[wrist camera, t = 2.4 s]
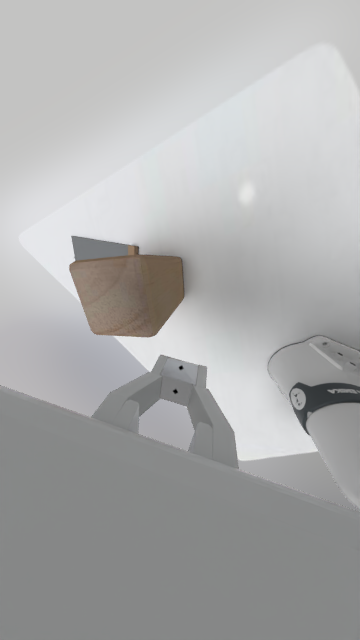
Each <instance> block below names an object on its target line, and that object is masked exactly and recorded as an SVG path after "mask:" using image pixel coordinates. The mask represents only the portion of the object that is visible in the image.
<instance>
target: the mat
mask: <svg viewBox="0 0 360 640" xmlns="http://www.w3.org/2000/svg"><path fill="white" fill-rule="evenodd" d="M72 242H73V248H74V254H75V260H86V259H96V258H106V257H116V256H126V255H136V254H138V247H137V246H131V245H125V244H118V243H112V242H106V241H100V240H94V239H87V238H81V237H75V236H72Z"/></svg>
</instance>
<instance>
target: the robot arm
mask: <svg viewBox="0 0 360 640" xmlns="http://www.w3.org/2000/svg"><path fill="white" fill-rule="evenodd" d="M323 343H324V344H323ZM268 372H269V374H270V376H271V378H272V379H273V380H274V381H275V382H276V383H277V385H278V388H279V390H280V391H281V393H282V394H284V395H285V396H286V398H287V399H288V401H289V402H290V404H291V405H292V407H293V409H294V412H295V414H296V416H297V418H298V419H299V422H300V424H301V426H302V427H303V428H304V430H305V431H306V433H307V434H308V435H310V436H311V438H312V440H313V442H314V444H315V445H316V447H317V449H318V451H319V453H320V454H321V456H322V458H323V460H324V462H325V464H326V466H327V467H328V469H329V471H330V473H331V475H332V477H333V479H334V480H335V482H336V484H337V486H338V488H339V489H340V491H341V492H342V493H343V495H344V496H345V497H346V498H347V499H348V500H349V502H350V503H351V504H353V505H354V506H355V507H356V508H357V509H359V510H360V351H358V350H355V349H353V348H350V347H348V346H345V345H343V344H340V343H338V342H336V341H333V340H331V339H328V338H326V337H323V336H315V337H312V338H310V339H309V340H307V341H305V342H302V343H298V344H293V345H290V346H287V347H285V348H283V349H281V350H279V351H278V352H277V353H276V354H274V355H273V357H272V358H271V360H270V361H269V364H268ZM206 377H207V367H206V366H202V365H197V364H193V363H189V362H185V361H182V360H178V359H175V358H171V357H167V356H164V355H160V357H159V358H158V360H157V362H156V364H155V366H154V368H153V369H152V371H151V373H150V372H148V373H146V374H144V375H142V376H140V377H138V378H136V379H134V380H133V381H131V382H129V383H127V384H125V385H123V386H121V387H119V388H118V389H116V390H114V391H112V392H110V393H109V395H108V396H107V397H106V399H105V400H104V401H103V403H102V404H101V405H100V406H99V408H98V409H97V411H96V412H95V413H94V414H93V415H92V417H89V416H86V415H83V414H80V413H77V412H75V411H72V410H69V409H66V408H63V407H60V406H57V405H55V404H51V403H49V402H46V401H43V400H40V399H38V398H35V397H32V396H29V395H26V394H23V393H20V392H18V391H15V390H12V389H9V388H6V387H3V386H1V385H0V640H360V512H359V511H356V510H353V509H350V508H348V507H344V506H342V505H339V504H336V503H333V502H331V501H328V500H324V499H322V498H319V497H316V496H313V495H311V494H308V493H305V492H302V491H299V490H296V489H294V488H291V487H288V486H285V485H282V484H279V483H276V482H274V481H271V480H268V479H265V478H262V477H259V476H256V475H254V474H251V473H248V472H245V471H242V470H239V467H238V460H237V451H236V443H235V435H234V431H233V429H232V428H231V426H230V424H229V423H228V421H227V419H226V418H225V416H224V414H223V413H222V411H221V409H220V408H219V406H218V404H217V403H216V401H215V399H214V398H213V396H212V394H211V393H210V391H209V389H207V388H206ZM160 398H161V399H164V400H168V401H171V402H175V403H178V404H181V405H184V406H186V407H187V408H188V411H189V414H190V417H191V421H192V424H193V427H194V430H195V432H194V435H193V438H192V441H191V444H190V447H189V450H188V451H186V450H183V449H180V448H177V447H174V446H171V445H168V444H165V443H163V442H160V441H157V440H154V439H151V438H149V437H146V436H143V435H140V434H138V427H139V417H140V416H141V415H142V414H143V413H144V412H145V411H146V410H148V409H149V408H150V407H151V406H152V405H153V404H155V403H156V402H157V401H158V400H159V399H160Z"/></svg>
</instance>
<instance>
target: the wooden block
mask: <svg viewBox="0 0 360 640" xmlns="http://www.w3.org/2000/svg"><path fill="white" fill-rule="evenodd" d="M70 273H71V276H72V278H73V281H74V284H75V287H76V289H77V292H78V295H79V298H80V301H81V303H82V306H83V309H84V312H85V314H86V317H87V320H88V323H89V326H90V328H91V331H92V332H93V333H94V334H97V335H113V336H133V337H152V336H155V335H156V334H157V333H158V331H159V330H160V329H161V328H162V326H163V325H164V324H165V322H166V321H167V320H168V318H169V317H170V316H171V314H172V313H173V312H174V311H175V309H176V308H177V307H178V305H179V304H180V303H181V301H182V300H183V298H184V288H183V272H182V261H181V258H179V257H174V256H156V255H139V254H136V255H126V256H116V257H106V258H96V259H86V260H76V261H75V262H73V263H72V264H70Z"/></svg>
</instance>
